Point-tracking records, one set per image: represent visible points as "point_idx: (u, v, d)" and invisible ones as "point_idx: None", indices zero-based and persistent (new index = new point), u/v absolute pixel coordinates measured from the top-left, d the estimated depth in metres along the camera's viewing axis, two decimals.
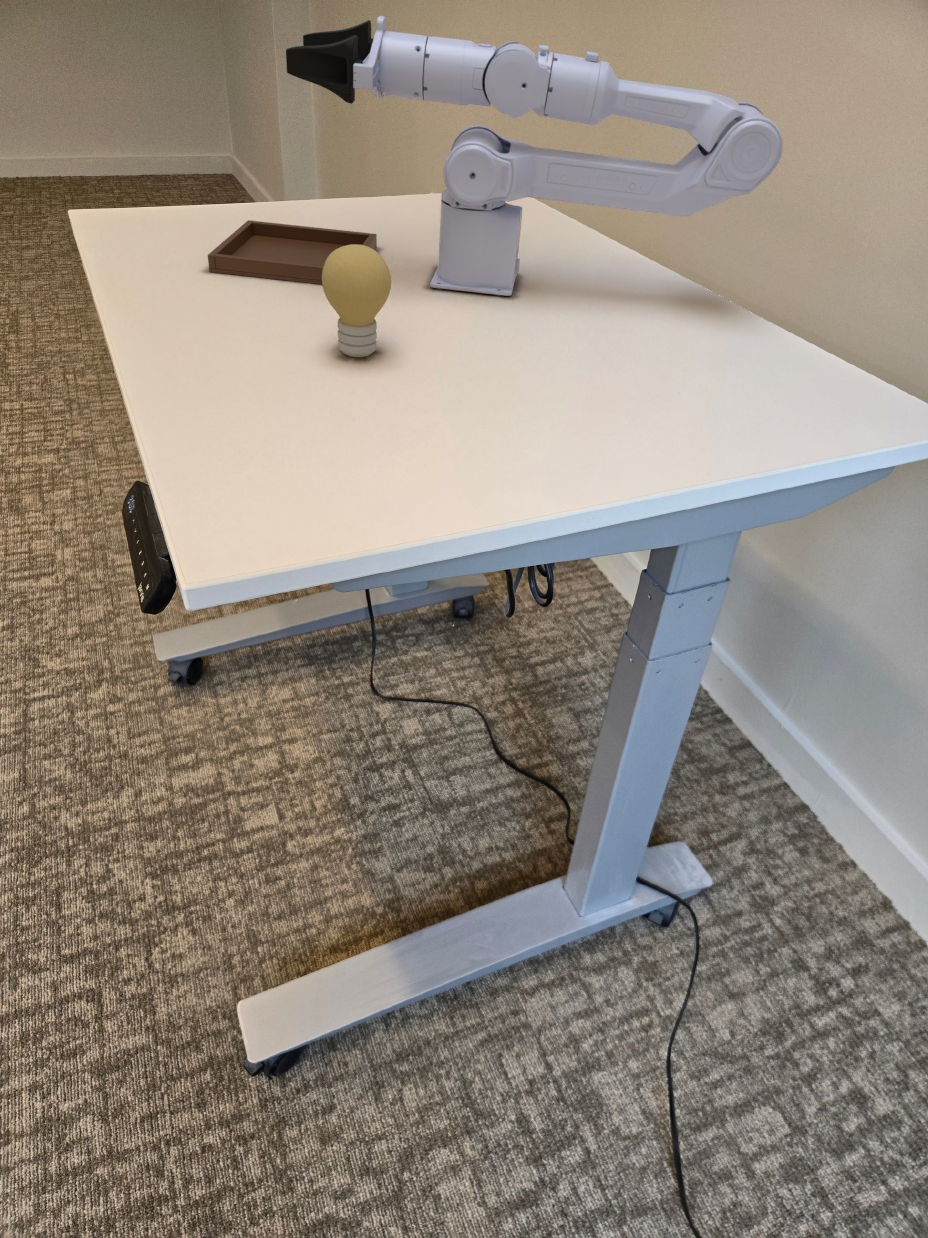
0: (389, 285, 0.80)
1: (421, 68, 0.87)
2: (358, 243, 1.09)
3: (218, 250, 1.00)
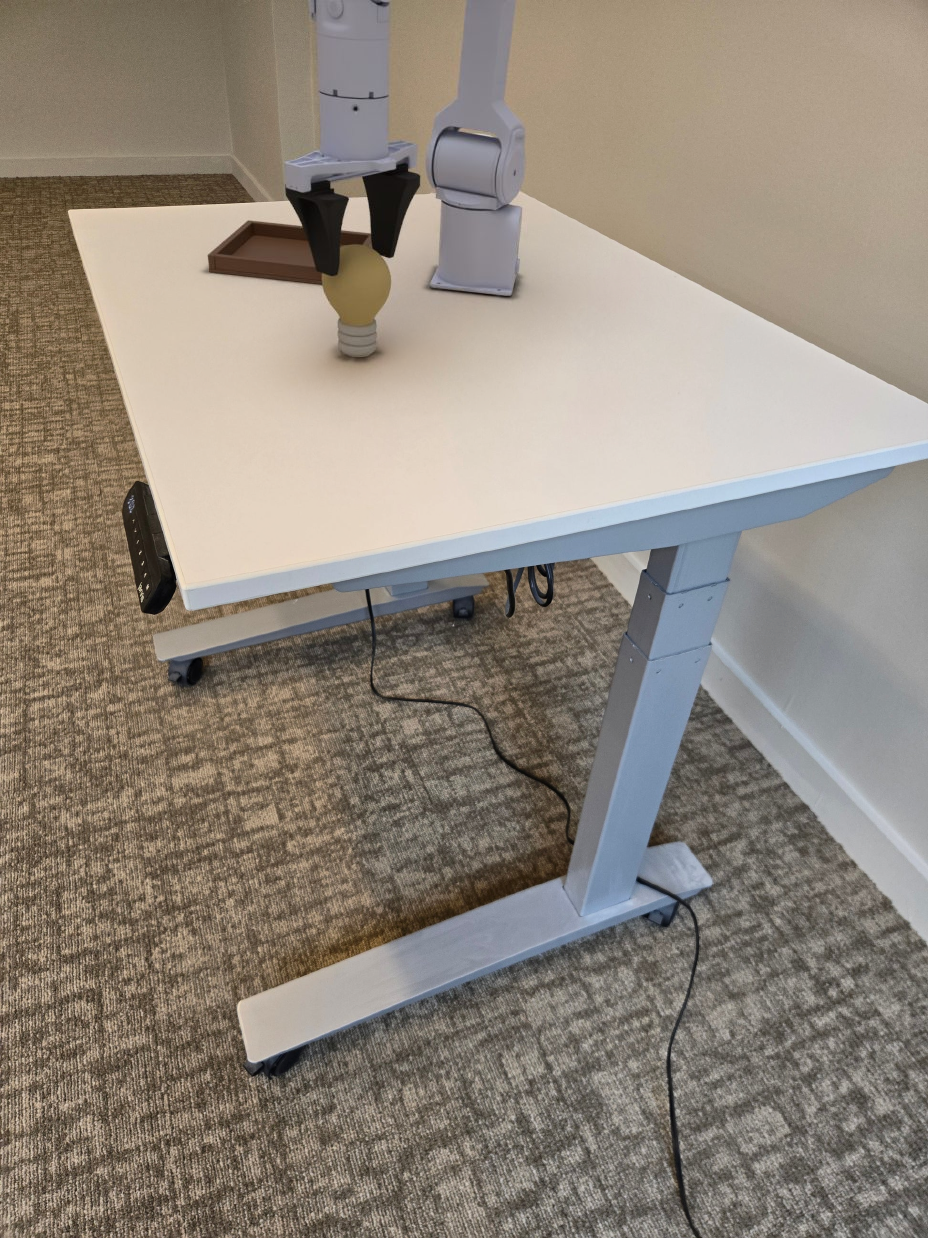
0: (389, 285, 0.80)
1: None
2: (358, 243, 1.09)
3: (218, 250, 1.00)
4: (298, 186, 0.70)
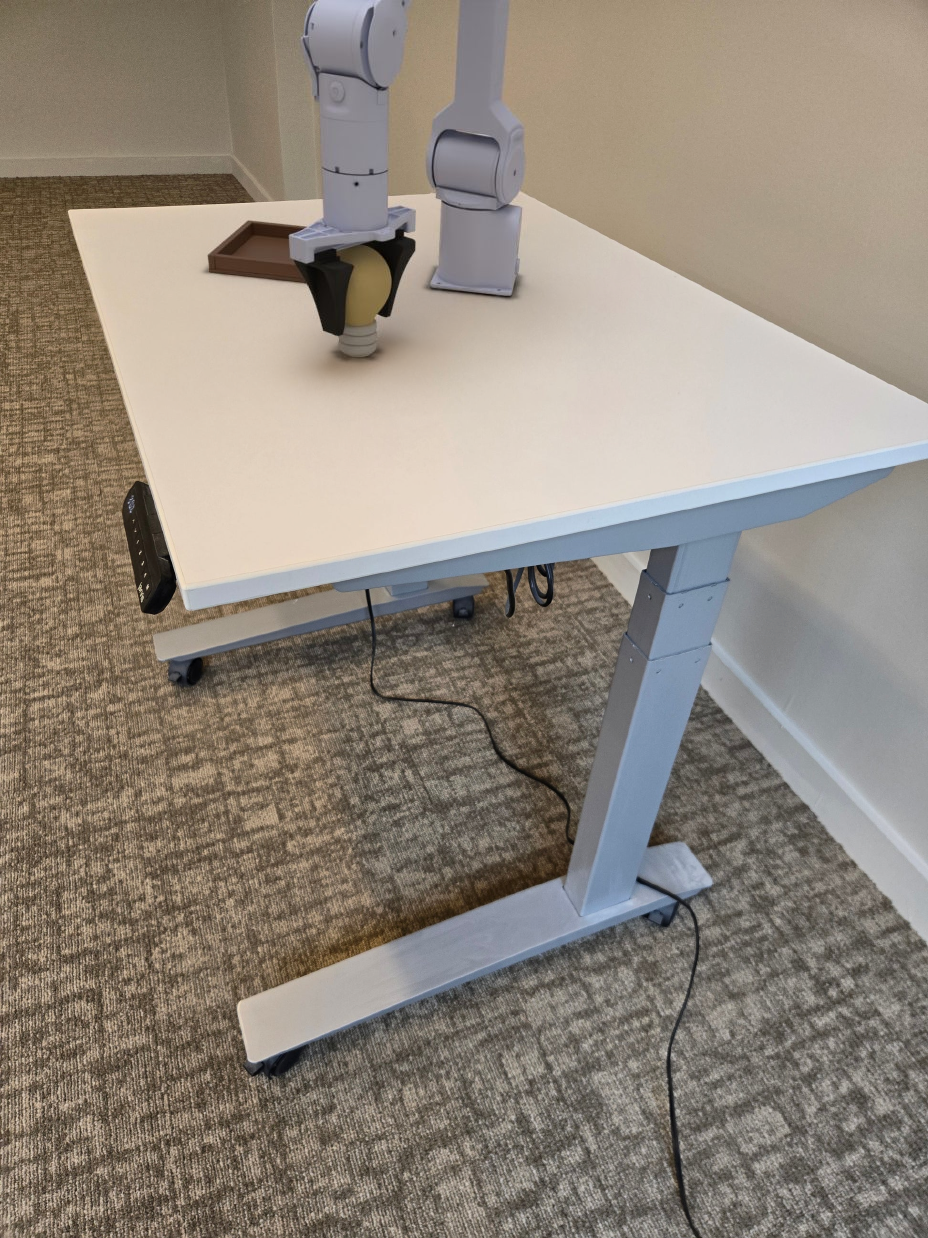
0: (389, 285, 0.80)
1: None
2: None
3: (218, 250, 1.00)
4: (302, 257, 0.73)
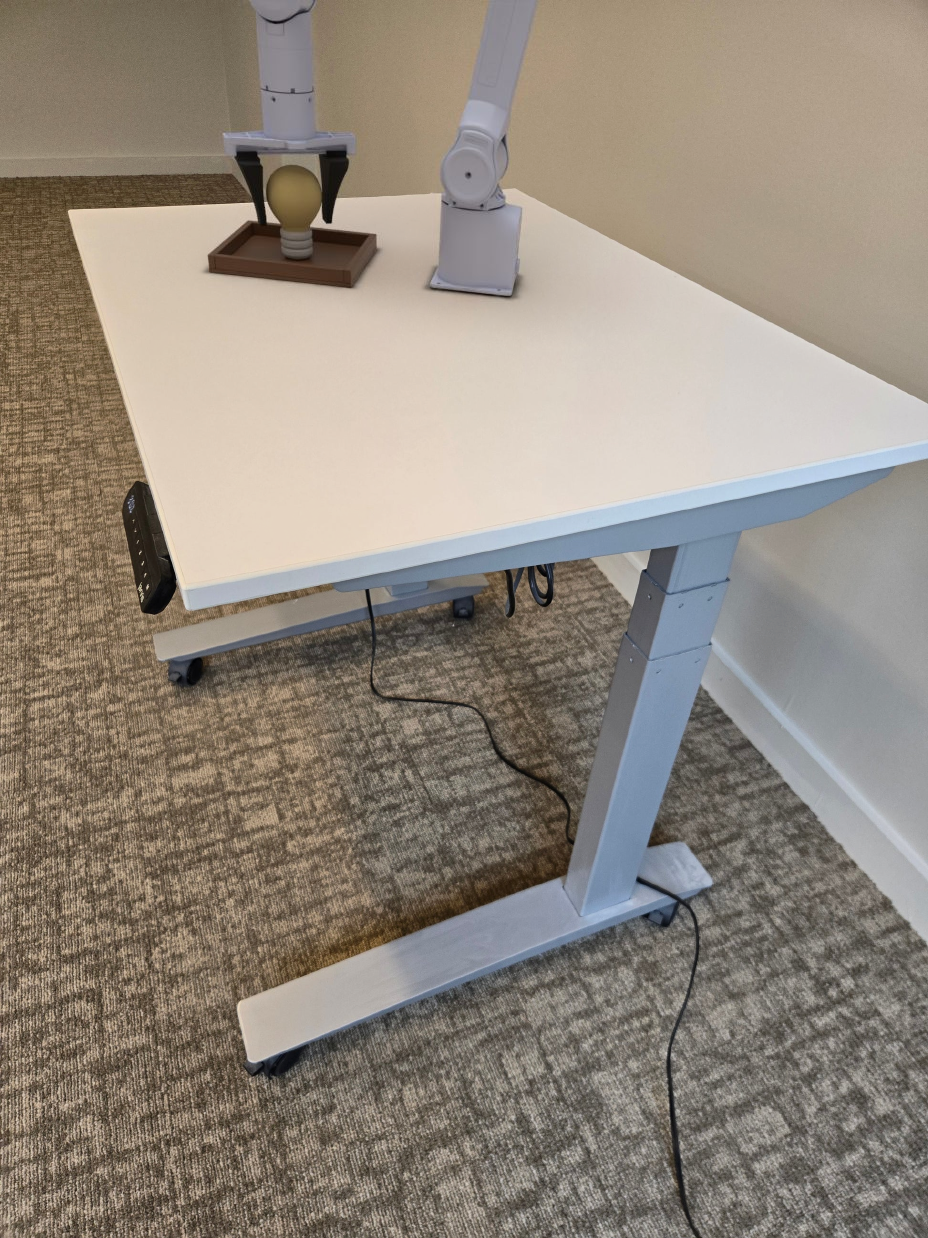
0: (310, 201, 0.99)
1: None
2: (358, 243, 1.09)
3: (218, 250, 1.00)
4: (225, 151, 0.95)
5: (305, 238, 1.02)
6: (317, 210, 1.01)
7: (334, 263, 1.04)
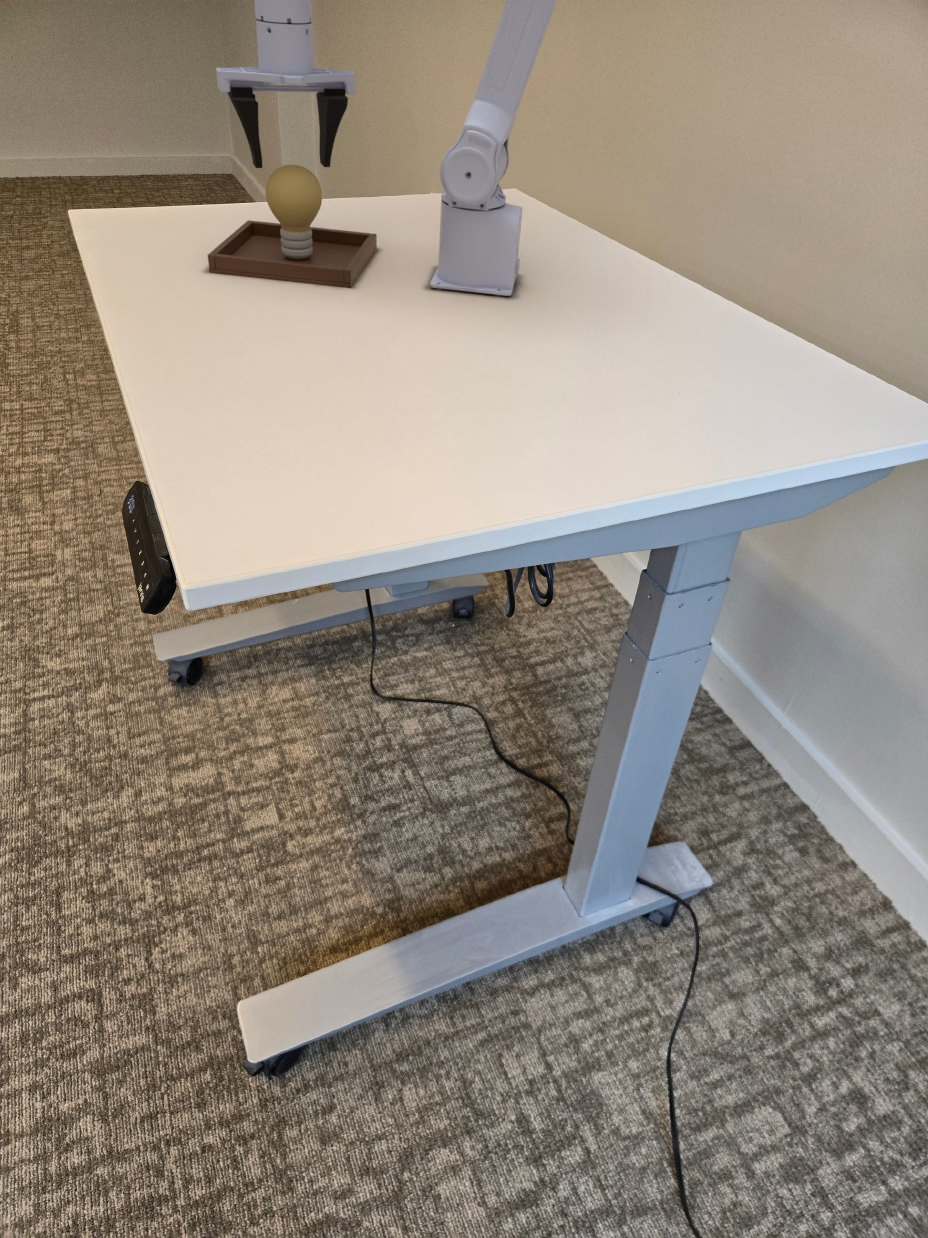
0: (310, 201, 0.99)
1: None
2: (358, 243, 1.09)
3: (218, 250, 1.00)
4: (219, 86, 0.91)
5: (305, 238, 1.02)
6: (317, 210, 1.01)
7: (334, 263, 1.04)
